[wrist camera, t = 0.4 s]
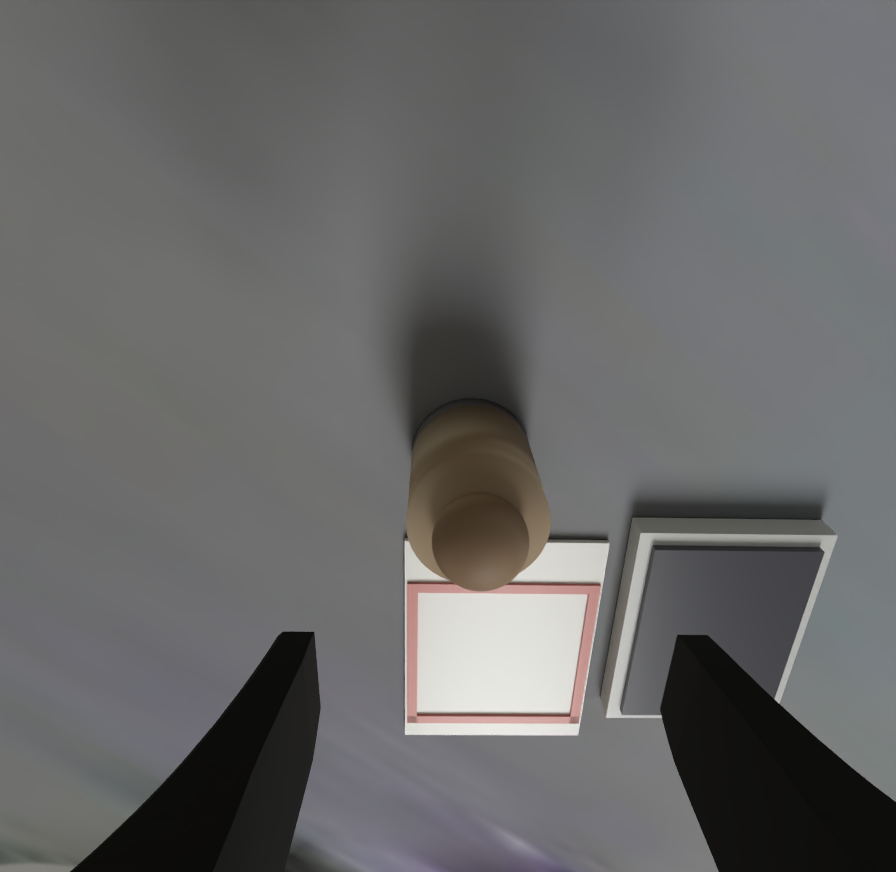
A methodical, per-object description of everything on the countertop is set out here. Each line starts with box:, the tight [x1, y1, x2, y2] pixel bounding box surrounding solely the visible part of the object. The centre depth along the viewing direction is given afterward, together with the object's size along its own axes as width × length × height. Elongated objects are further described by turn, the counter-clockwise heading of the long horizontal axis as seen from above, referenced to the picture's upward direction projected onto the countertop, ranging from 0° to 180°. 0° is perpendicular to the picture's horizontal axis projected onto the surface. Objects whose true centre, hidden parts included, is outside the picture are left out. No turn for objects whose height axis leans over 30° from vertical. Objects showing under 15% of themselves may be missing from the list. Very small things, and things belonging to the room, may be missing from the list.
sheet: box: [405, 538, 610, 735], centre depth 25 cm, size 8×10×1 cm
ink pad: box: [600, 517, 838, 718], centre depth 24 cm, size 7×9×1 cm
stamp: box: [406, 398, 551, 592], centre depth 18 cm, size 4×4×7 cm
